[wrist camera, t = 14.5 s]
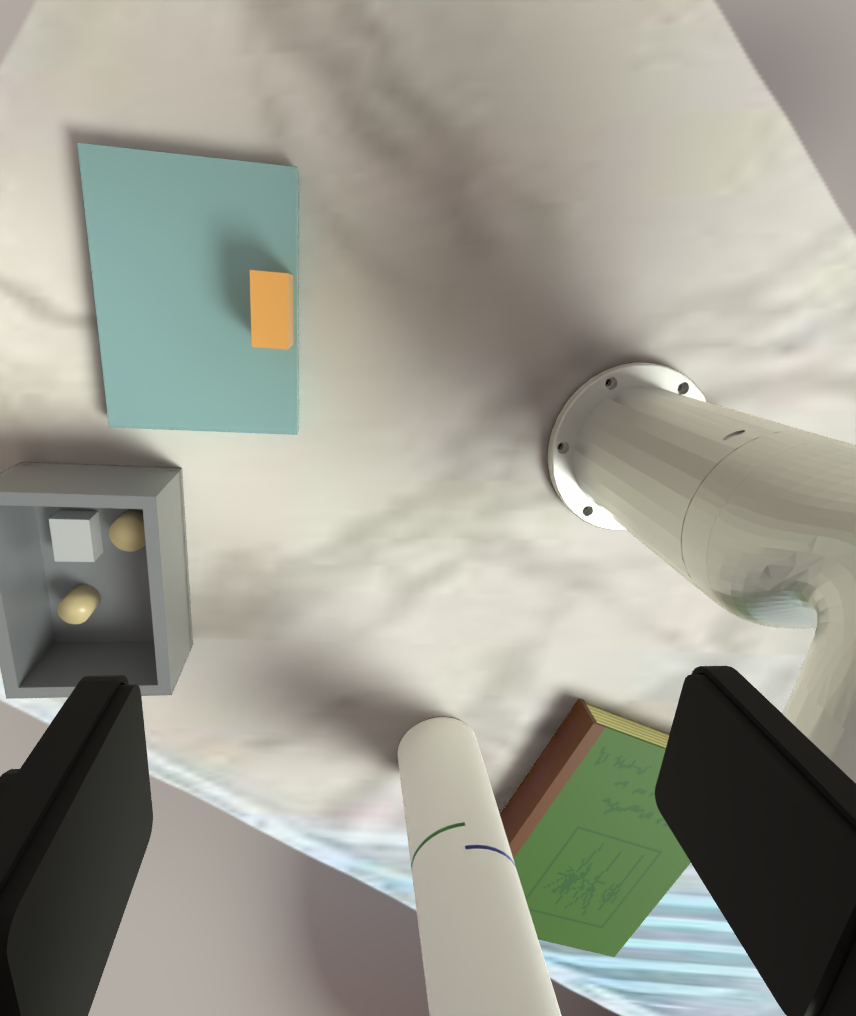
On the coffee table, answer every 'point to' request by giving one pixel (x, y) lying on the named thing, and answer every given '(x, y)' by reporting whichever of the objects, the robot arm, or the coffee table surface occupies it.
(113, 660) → the tub
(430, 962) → the cylindrical container
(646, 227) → the coffee table surface
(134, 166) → the lid
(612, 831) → the hardcover book
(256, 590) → the coffee table surface
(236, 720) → the coffee table surface
